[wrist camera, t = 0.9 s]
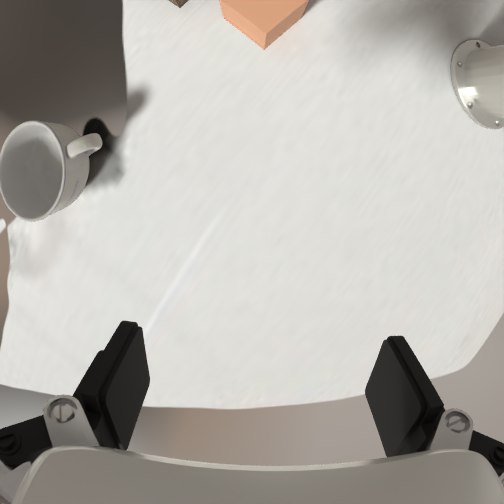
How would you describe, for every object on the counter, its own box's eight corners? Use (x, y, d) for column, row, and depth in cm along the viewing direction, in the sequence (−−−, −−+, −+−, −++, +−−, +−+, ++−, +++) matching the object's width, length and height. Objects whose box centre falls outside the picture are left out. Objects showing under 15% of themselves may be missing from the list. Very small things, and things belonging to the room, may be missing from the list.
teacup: (40, 209, 35) (4, 227, 28) (29, 130, 31) (-10, 135, 24) (128, 195, 35) (99, 212, 27) (118, 105, 31) (85, 100, 23)
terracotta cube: (261, -12, 26) (263, -36, 20) (301, 18, 27) (309, -2, 22) (224, 18, 28) (218, -2, 22) (263, 50, 29) (266, 34, 23)
